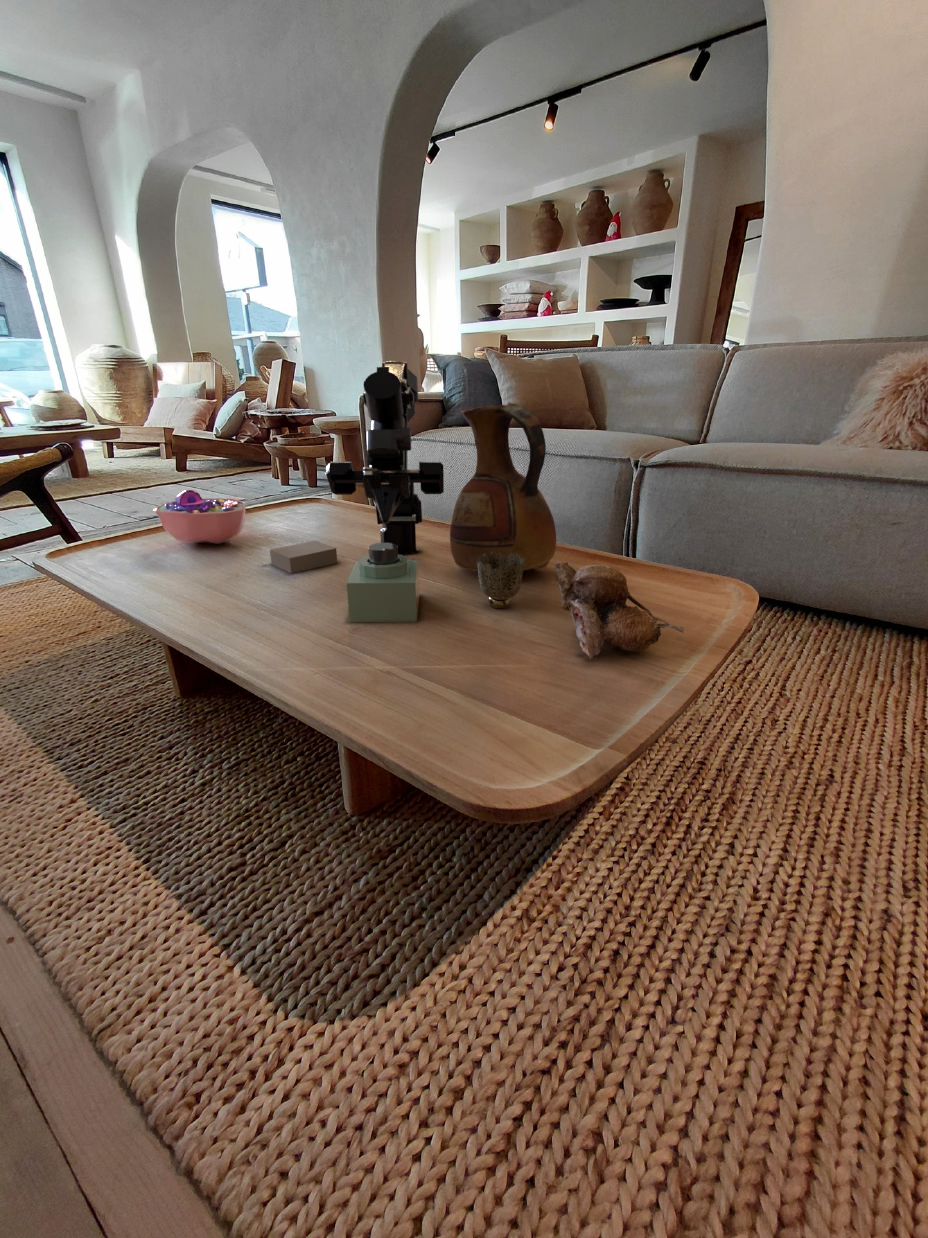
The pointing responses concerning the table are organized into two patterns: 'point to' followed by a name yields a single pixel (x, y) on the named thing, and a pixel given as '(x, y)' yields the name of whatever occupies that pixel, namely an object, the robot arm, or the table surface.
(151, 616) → the table surface
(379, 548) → the dark grey metal cylinder
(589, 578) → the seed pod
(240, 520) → the cell model
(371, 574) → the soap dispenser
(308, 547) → the brown rectangular block
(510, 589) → the cup
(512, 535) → the ceramic pitcher
